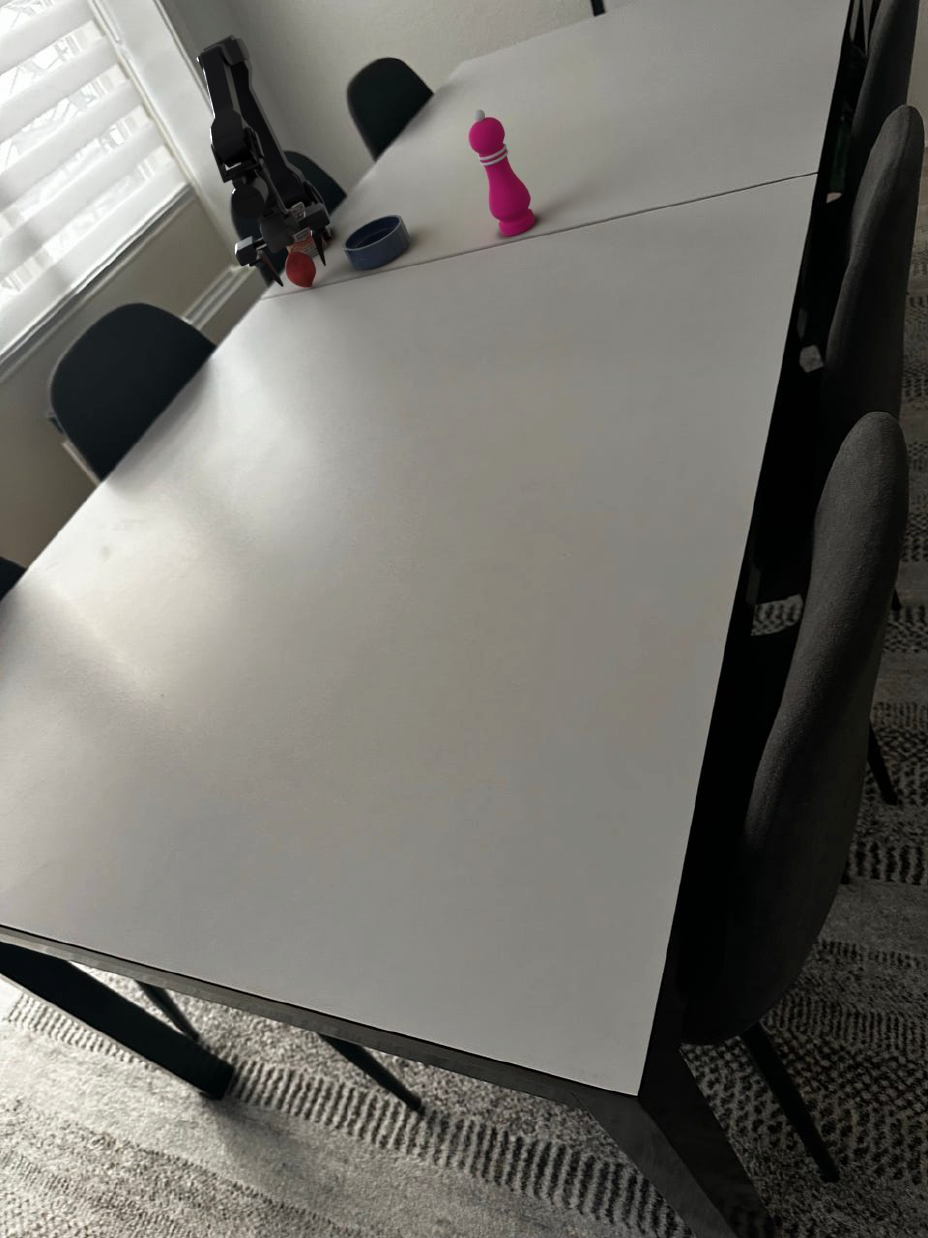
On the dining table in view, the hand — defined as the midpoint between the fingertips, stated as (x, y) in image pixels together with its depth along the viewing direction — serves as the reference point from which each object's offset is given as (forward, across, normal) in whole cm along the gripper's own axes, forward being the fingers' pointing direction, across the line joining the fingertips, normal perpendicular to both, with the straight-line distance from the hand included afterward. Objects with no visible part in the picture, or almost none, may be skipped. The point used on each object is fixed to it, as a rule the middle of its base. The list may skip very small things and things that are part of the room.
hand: (304, 275), depth 179 cm
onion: (+3, 0, 0) cm, 3 cm away
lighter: (+2, +1, +17) cm, 17 cm away
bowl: (+2, +16, -1) cm, 16 cm away
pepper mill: (+3, +40, -18) cm, 44 cm away
